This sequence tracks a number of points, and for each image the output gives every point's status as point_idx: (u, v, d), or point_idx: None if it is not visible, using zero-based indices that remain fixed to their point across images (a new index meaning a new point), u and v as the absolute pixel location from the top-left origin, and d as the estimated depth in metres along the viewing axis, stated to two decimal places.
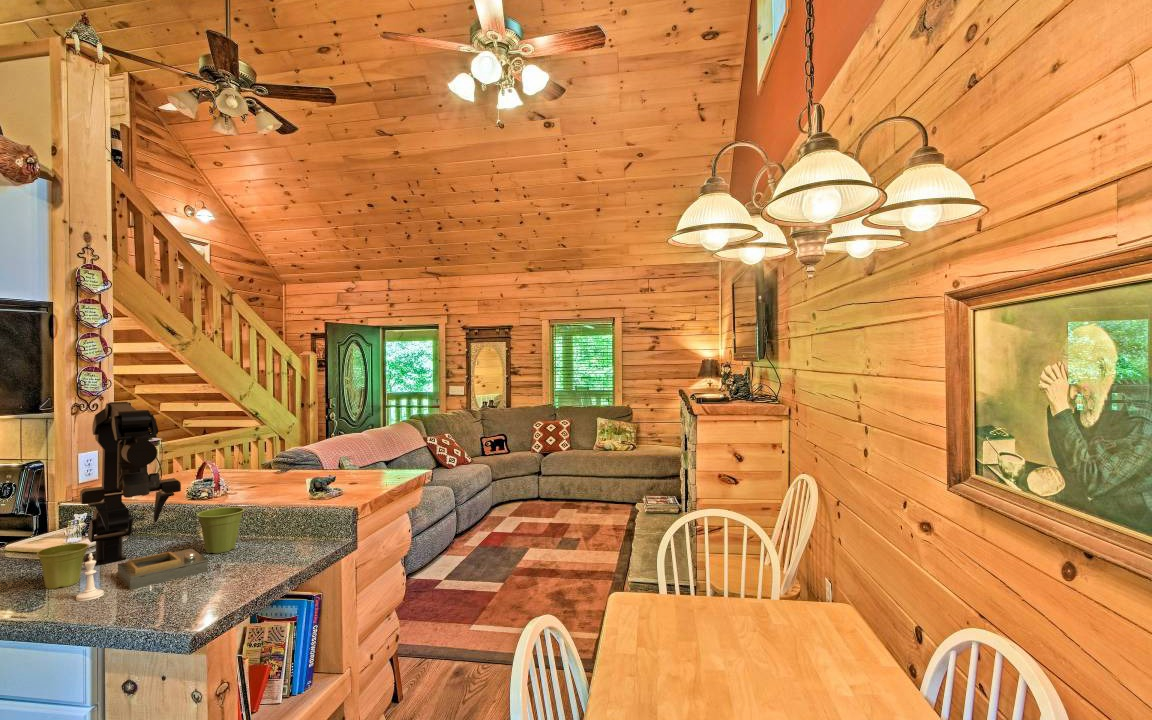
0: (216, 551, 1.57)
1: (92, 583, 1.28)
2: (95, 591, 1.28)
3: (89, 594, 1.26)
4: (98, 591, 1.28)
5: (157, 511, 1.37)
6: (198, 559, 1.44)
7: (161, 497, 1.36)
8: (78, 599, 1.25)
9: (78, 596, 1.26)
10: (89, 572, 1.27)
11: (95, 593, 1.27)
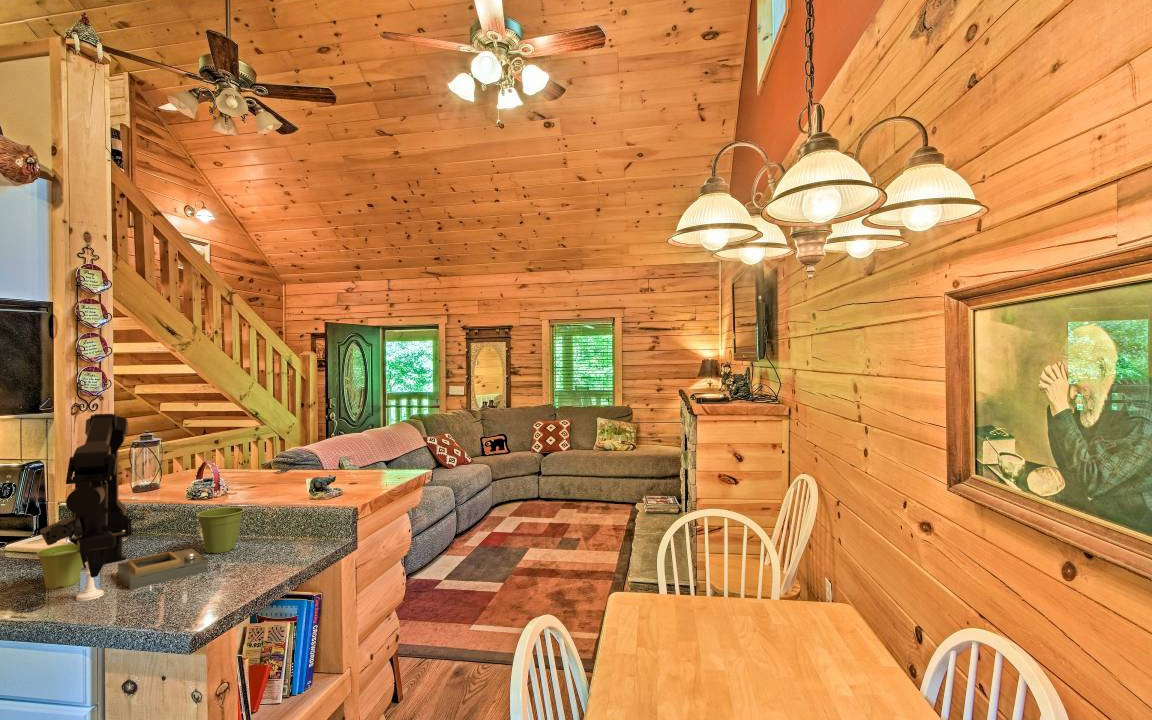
0: (216, 551, 1.57)
1: (92, 583, 1.28)
2: (95, 591, 1.28)
3: (89, 594, 1.26)
4: (98, 591, 1.28)
5: None
6: (198, 559, 1.44)
7: None
8: (78, 599, 1.25)
9: (78, 596, 1.26)
10: (89, 572, 1.27)
11: (95, 593, 1.27)
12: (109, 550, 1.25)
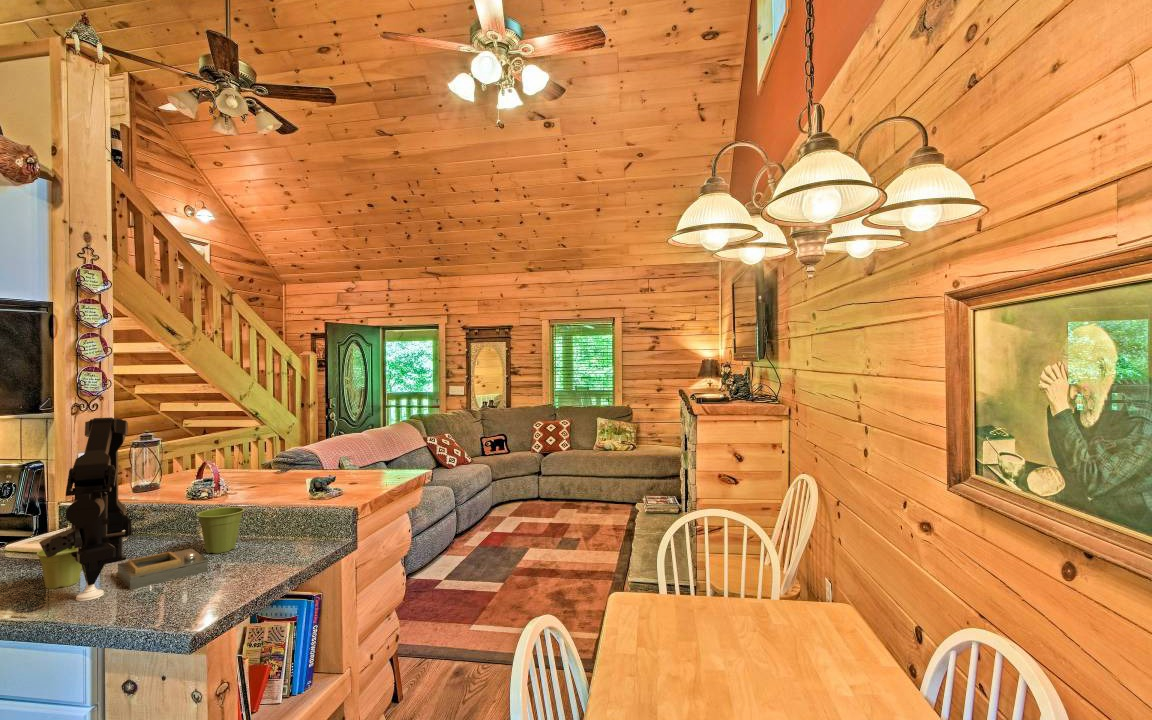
0: (216, 551, 1.57)
1: None
2: (95, 591, 1.28)
3: (89, 594, 1.26)
4: (98, 591, 1.28)
5: (85, 574, 1.26)
6: (198, 559, 1.44)
7: None
8: (78, 599, 1.25)
9: (78, 596, 1.26)
10: None
11: (95, 593, 1.27)
12: None
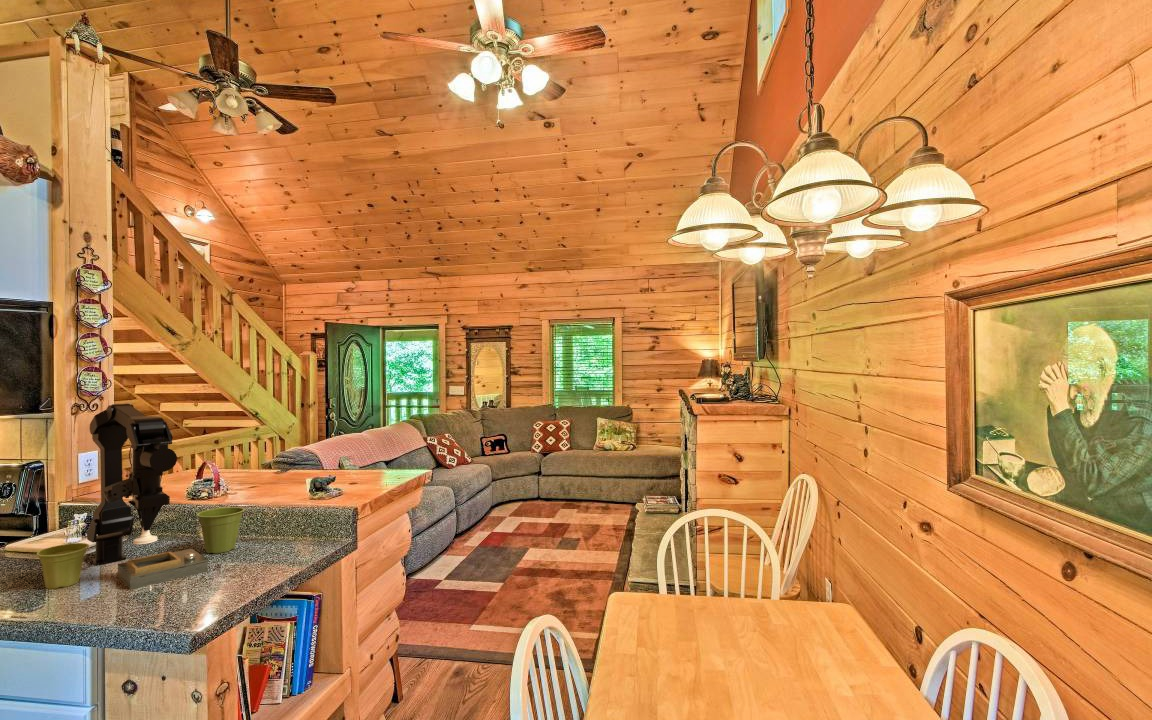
0: (216, 551, 1.57)
1: None
2: (150, 536, 1.39)
3: (145, 538, 1.38)
4: (153, 536, 1.39)
5: None
6: (198, 559, 1.44)
7: None
8: (135, 542, 1.37)
9: (135, 540, 1.37)
10: None
11: (150, 538, 1.38)
12: (159, 506, 1.39)
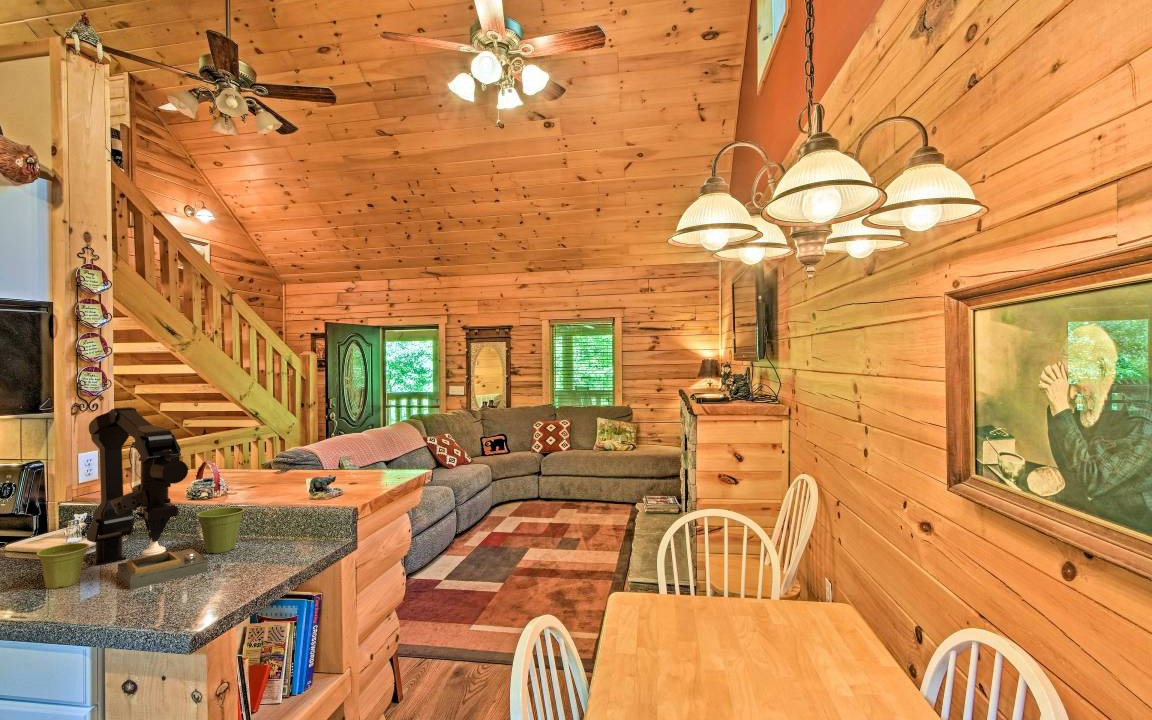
0: (216, 551, 1.57)
1: None
2: (158, 547, 1.41)
3: (153, 549, 1.40)
4: (161, 547, 1.41)
5: (150, 531, 1.39)
6: (198, 559, 1.44)
7: (143, 518, 1.38)
8: (144, 554, 1.39)
9: (144, 551, 1.39)
10: None
11: (158, 549, 1.40)
12: (167, 517, 1.41)
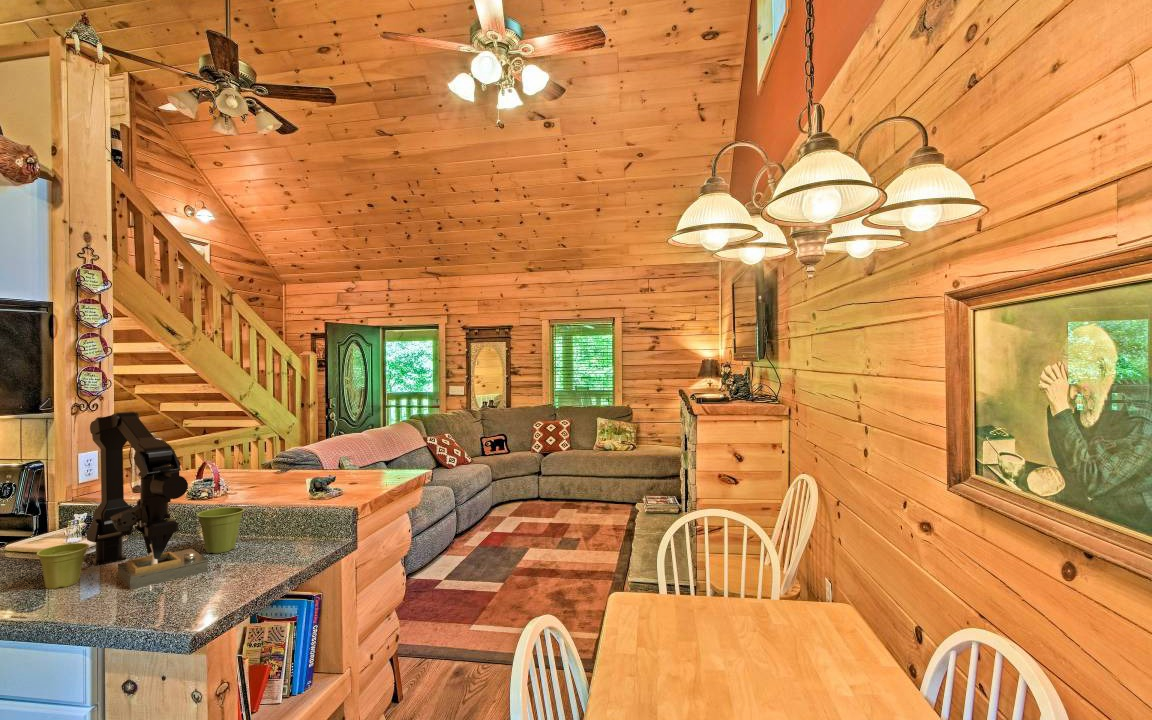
0: (216, 551, 1.57)
1: (156, 563, 1.41)
2: None
3: None
4: None
5: (152, 548, 1.38)
6: (198, 559, 1.44)
7: (145, 536, 1.36)
8: None
9: None
10: None
11: None
12: (170, 534, 1.39)
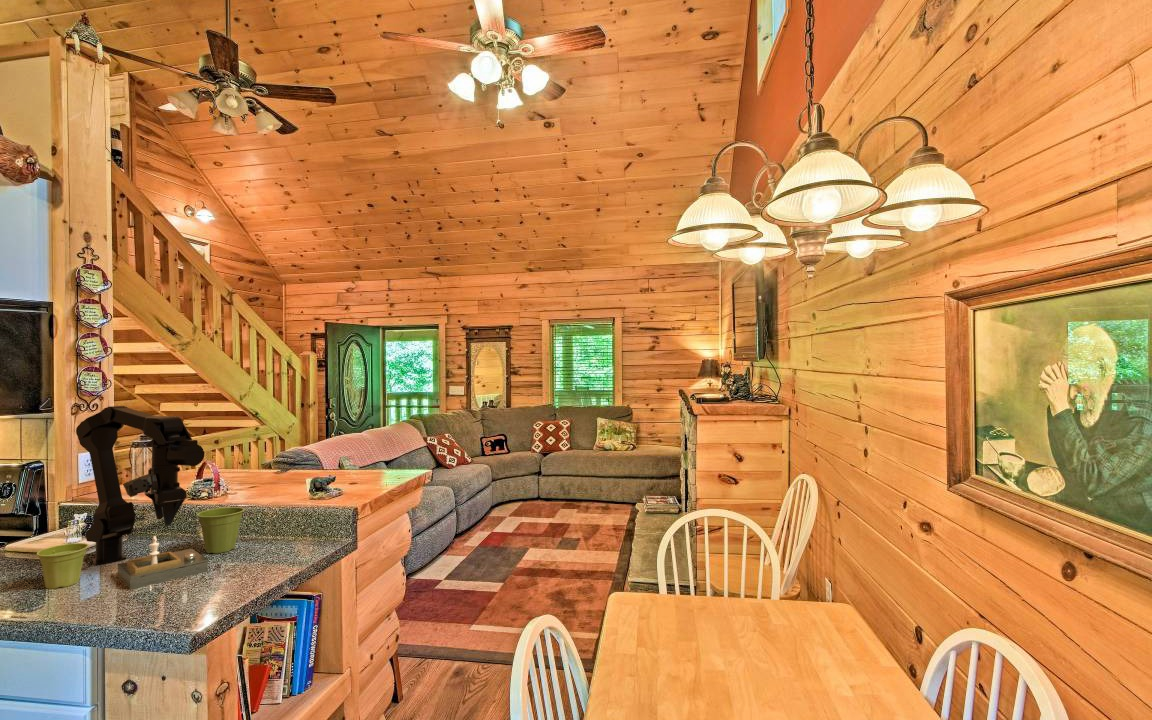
0: (216, 551, 1.57)
1: (156, 563, 1.41)
2: None
3: None
4: None
5: (163, 516, 1.44)
6: (198, 559, 1.44)
7: (156, 503, 1.42)
8: None
9: None
10: (153, 553, 1.40)
11: None
12: (180, 503, 1.45)
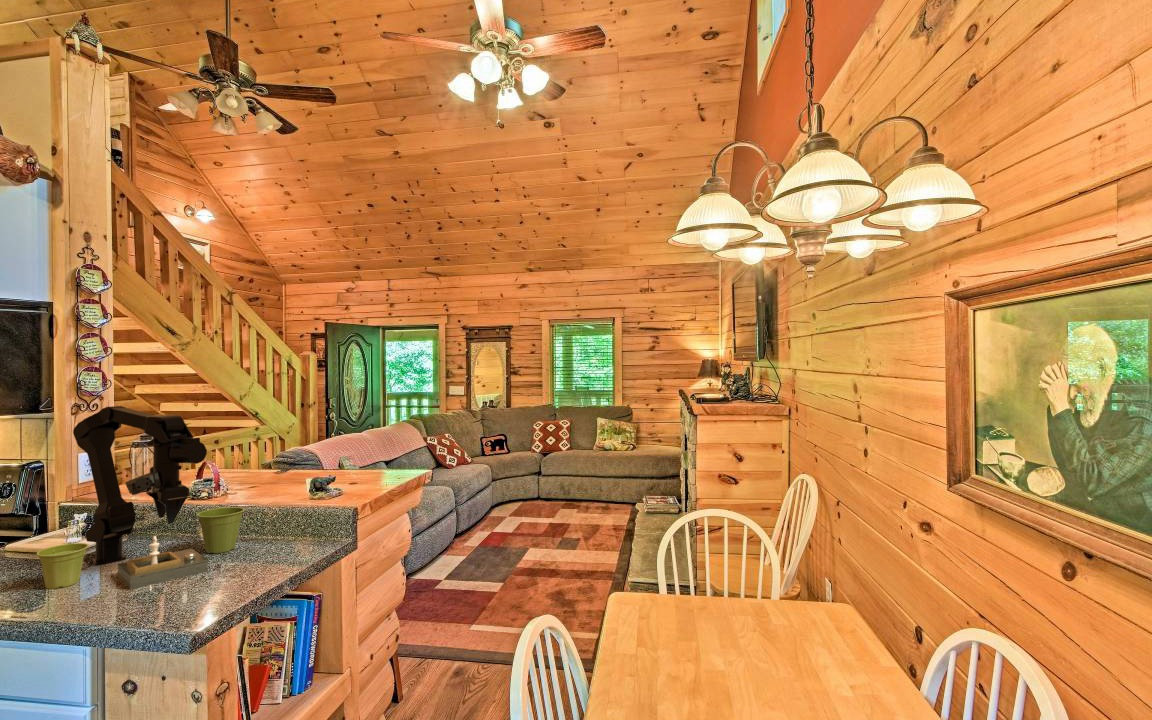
0: (216, 551, 1.57)
1: (156, 563, 1.41)
2: None
3: None
4: None
5: (166, 513, 1.45)
6: (198, 559, 1.44)
7: (159, 501, 1.43)
8: None
9: None
10: (154, 553, 1.40)
11: None
12: (183, 500, 1.46)
